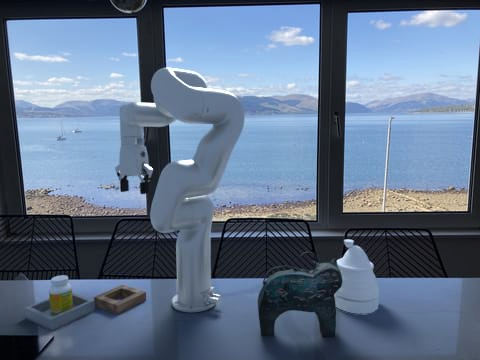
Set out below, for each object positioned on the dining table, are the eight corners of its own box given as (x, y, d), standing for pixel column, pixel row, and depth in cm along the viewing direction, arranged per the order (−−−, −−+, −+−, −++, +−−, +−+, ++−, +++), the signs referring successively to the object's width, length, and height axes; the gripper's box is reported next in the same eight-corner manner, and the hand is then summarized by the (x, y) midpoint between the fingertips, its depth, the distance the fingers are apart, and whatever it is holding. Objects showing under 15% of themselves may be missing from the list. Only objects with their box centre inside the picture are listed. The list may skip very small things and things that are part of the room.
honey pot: (327, 309, 97) (329, 245, 95) (333, 291, 109) (335, 233, 107) (378, 318, 92) (381, 250, 90) (378, 297, 104) (381, 237, 102)
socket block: (146, 300, 103) (145, 291, 103) (118, 314, 94) (117, 305, 94) (122, 292, 108) (122, 284, 108) (94, 305, 100) (93, 297, 99)
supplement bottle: (63, 319, 91) (61, 282, 90) (45, 317, 92) (43, 281, 91) (77, 309, 96) (75, 274, 95) (60, 307, 98) (58, 273, 96)
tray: (94, 311, 96) (94, 300, 96) (51, 331, 86) (51, 319, 86) (68, 300, 103) (67, 290, 102) (25, 318, 93) (24, 307, 92)
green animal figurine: (337, 326, 88) (339, 248, 86) (345, 341, 82) (347, 256, 79) (257, 326, 88) (257, 248, 86) (258, 341, 82) (258, 257, 79)
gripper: (159, 142, 118) (160, 193, 120) (123, 142, 127) (125, 189, 129) (142, 142, 112) (144, 196, 114) (106, 142, 121) (108, 192, 123)
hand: (134, 192), depth 121 cm, fingers open, 9 cm apart
